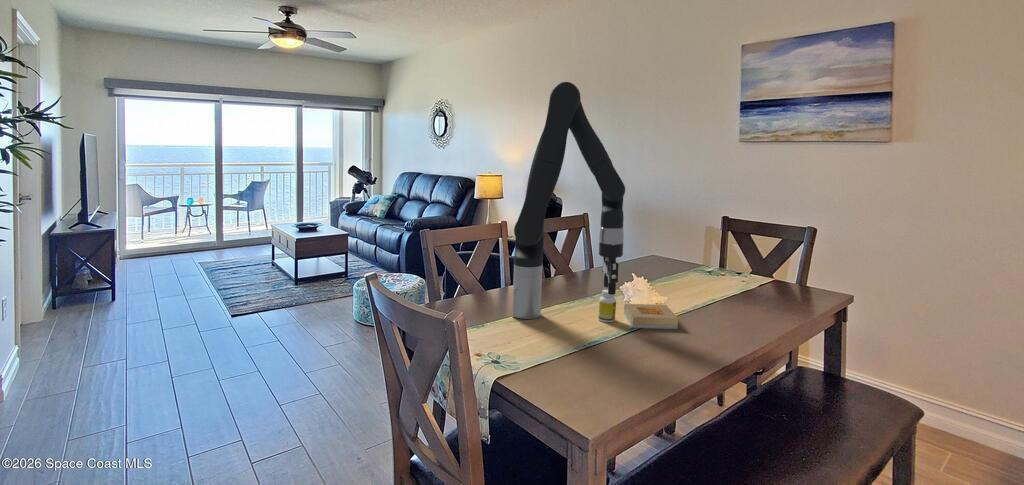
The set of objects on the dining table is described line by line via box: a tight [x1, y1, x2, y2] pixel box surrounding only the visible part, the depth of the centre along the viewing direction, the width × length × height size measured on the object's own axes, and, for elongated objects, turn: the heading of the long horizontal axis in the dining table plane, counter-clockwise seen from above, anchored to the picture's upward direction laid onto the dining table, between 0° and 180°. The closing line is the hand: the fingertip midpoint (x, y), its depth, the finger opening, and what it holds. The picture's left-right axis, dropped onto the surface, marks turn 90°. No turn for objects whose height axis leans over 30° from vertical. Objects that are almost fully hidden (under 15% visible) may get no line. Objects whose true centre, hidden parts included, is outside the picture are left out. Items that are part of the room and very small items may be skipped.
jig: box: [623, 303, 679, 330], centre depth 177 cm, size 14×14×4 cm
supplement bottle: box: [597, 289, 617, 323], centre depth 176 cm, size 5×5×10 cm
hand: (609, 290), depth 176 cm, fingers open, 8 cm apart
